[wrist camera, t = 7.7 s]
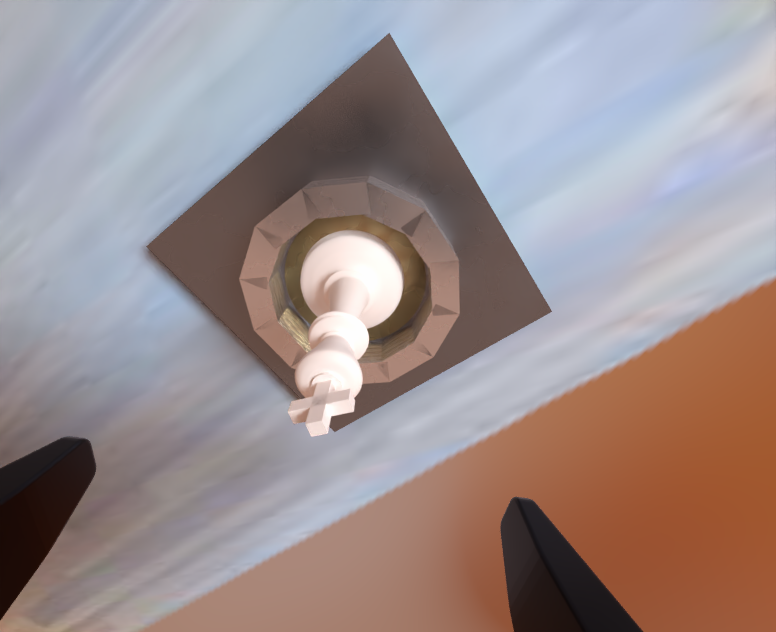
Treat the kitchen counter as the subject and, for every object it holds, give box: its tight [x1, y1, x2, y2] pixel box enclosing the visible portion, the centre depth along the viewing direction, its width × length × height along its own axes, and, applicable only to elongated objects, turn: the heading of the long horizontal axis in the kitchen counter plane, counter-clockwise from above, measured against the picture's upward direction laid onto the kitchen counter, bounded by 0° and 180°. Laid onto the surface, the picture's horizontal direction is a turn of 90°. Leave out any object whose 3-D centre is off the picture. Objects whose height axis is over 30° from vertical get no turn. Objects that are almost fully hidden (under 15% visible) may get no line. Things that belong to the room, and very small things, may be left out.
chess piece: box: [288, 230, 404, 437], centre depth 14 cm, size 5×5×10 cm
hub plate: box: [146, 33, 552, 432], centre depth 18 cm, size 14×14×3 cm
